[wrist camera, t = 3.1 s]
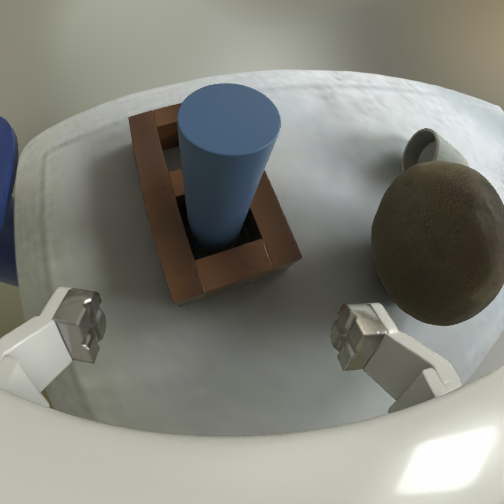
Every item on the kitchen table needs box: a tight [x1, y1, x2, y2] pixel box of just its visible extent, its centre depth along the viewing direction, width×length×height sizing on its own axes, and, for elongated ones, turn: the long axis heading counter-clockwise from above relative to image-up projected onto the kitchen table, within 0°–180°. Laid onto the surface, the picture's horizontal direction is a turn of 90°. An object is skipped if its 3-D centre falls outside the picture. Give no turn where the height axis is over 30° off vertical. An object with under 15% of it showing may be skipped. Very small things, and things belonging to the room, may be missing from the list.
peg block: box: [129, 103, 302, 306], centre depth 24 cm, size 10×18×4 cm, turn 21°
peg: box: [177, 83, 281, 254], centre depth 18 cm, size 4×4×15 cm
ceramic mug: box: [402, 128, 469, 172], centre depth 29 cm, size 11×8×8 cm
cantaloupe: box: [371, 161, 504, 326], centre depth 20 cm, size 14×14×15 cm
